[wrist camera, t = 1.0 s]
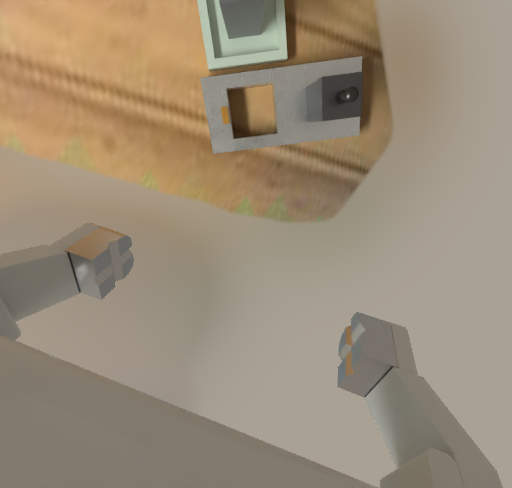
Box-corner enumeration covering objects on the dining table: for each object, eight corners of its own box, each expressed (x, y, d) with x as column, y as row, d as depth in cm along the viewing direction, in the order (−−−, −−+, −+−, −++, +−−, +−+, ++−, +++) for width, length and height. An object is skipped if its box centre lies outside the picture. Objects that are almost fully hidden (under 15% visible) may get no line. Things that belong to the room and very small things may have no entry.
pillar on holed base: (215, 151, 40) (198, 165, 27) (203, 80, 36) (177, 58, 23) (353, 134, 39) (402, 140, 26) (355, 60, 35) (414, 25, 23)
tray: (210, 71, 36) (208, 69, 34) (194, -30, 31) (191, -37, 30) (286, 60, 35) (287, 58, 34) (279, -42, 31) (281, -50, 30)
